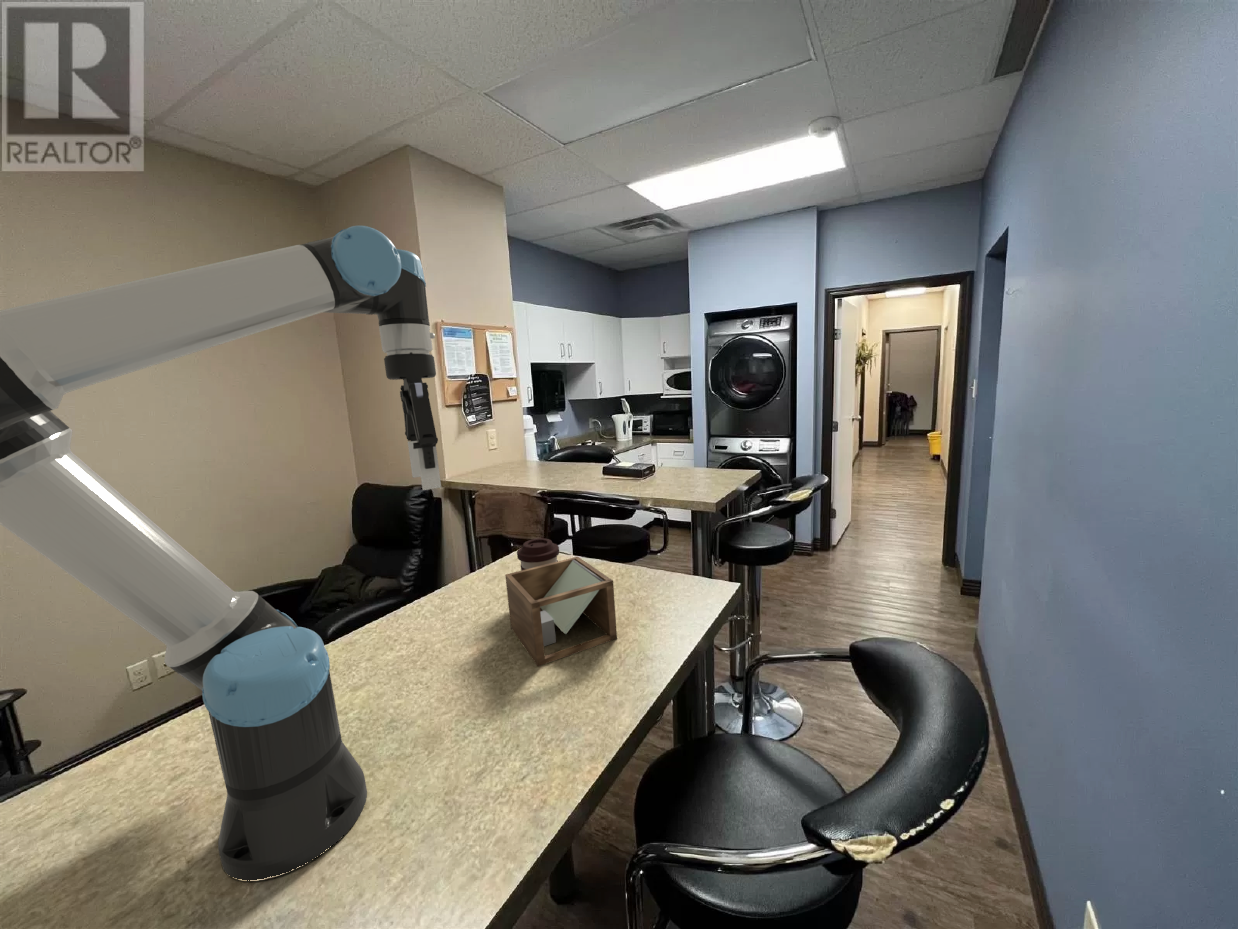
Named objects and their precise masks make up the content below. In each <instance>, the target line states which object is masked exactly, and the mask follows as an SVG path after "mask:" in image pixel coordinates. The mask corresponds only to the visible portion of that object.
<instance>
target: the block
mask: <svg viewBox="0 0 1238 929" xmlns="http://www.w3.org/2000/svg"><path fill="white" fill-rule="evenodd" d="M540 613H541V624H542V634H543V644H544V647H546V646H549V645H552V644H554V643H557V641H556V638H557V637H556V629H555V623H554V619H553V618H552V617H551V616H550V615H549V614H548V613H547V612H546V611H545V610H544V611H540Z"/></svg>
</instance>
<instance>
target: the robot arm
mask: <svg viewBox="0 0 1238 929" xmlns="http://www.w3.org/2000/svg"><path fill="white" fill-rule="evenodd" d="M424 273H425V272H424V268H423V265H422V261H421V259H420V257H419V256H418V255H417V254H416V253H414V252H412V251H409V250H407V249H406V250H405V249H398V248H396V246H395V245H394V242H392V241H391V240H390V239H389V238H388V236H387V235H385V234H384V233H383V232H381V231H380V230H377V229H376V228H373V227H370V226H367V225H352V226H349V227H347V228H344V229H341V230H340V231H339V232H337V233H336V234H335V235H334V236H332V237H328V238H323V239H318V240H314V241H308V242H306V243H302V244H295V245H291V246H287V247H282V248H278V249H273V250H269V251H264V252H259V253H255V254H250V255H245V256H241V257H237V258H232V259H228V260H227V259H226V260H224V261H218V262H214V263H209V264H205V265H200V266H196V267H191V268H187V269H183V270H178V271H173V272H169V273H168V272H167V273H164V274H159V275H155V276H151V277H146V278H140V279H136V280H133V281H128V282H123V283H119V284H114V285H110V286H105V287H100V288H95V289H91V290H87V291H83V292H78V293H73V294H68V295H64V296H60V297H55V298H51V299H46V300H42V301H37V302H33V303H28V304H23V305H19V306H15V307H10V308H6V309H1V310H0V525H1V526H2V527H3V528H5V529H6V530H7V531H9V532H10V533H11V534H13V535H15V536H16V537H17V538H19V539H20V540H21V541H23V542H24V543H26V544H27V545H28V546H30V548H32V549H34V550H35V551H36V552H38V553H39V554H41V555H42V556H44V557H45V558H46V559H48V560H49V561H50V562H51V563H53V564H54V565H56V566H57V567H58V568H60V569H61V570H62V571H64V572H65V573H67V575H69V576H71V577H72V578H73V579H75V581H78V582H79V583H80V584H82V585H83V586H84V587H86V588H88V589H89V590H90V591H91V592H93V593H94V594H96V596H98V597H100V598H101V599H102V600H104V601H105V602H107V603H108V604H110V605H111V606H112V607H113V608H115V609H116V610H118V611H119V612H120V613H122V614H123V615H124V616H125V617H127V618H128V619H130V620H131V621H133V622H134V623H135V624H137V625H138V626H140V627H141V628H142V629H144V630H145V631H146V632H147V633H149V634H150V635H152V636H153V637H155V638H156V639H157V640H159V641H160V642H161V643H163V644H164V645H165V647H166V649H165V653H164V655H165V656H164V664H165V665H166V667H168V668H170V669H171V670H172V671H174V672H175V673H177V674H178V675H180V676H181V677H182V678H183V679H185V680H187V681H188V682H189V683H191V684H192V685H194V686H196V688H198V689H199V690H200V691H202V692H201V695H202V701H203V705H204V707H205V709H206V710H207V711H208V712H207V713H208V716H209V720H210V724H211V725H210V726H211V729H212V733H213V737H214V738H213V739H214V741H215V746H216V751H217V755H218V760H219V762H220V763H219V764H220V767H221V769H220V770H221V774H222V776H223V777H222V778H223V780H224V785H225V788H226V793H227V794H226V799H225V800H226V801H225V804H224V810H223V815H222V821H221V825H220V830H219V836H218V848H217V849H218V854H219V858H220V863H221V866H223V867H222V869H223V871H224V870H225V871H224V873H225V872H226V873H227V874H228V875H230V876H231V877H234V878H237V879H242V880H247V881H248V880H249V881H250V880H257V879H264V878H267V877H270V876H271V877H272V876H276V875H280V874H282V873H286V872H289V871H291V870H292V869H296V868H297V867H299V866H302V865H304V866H306V865H305V863H307V862H310V861H311V860H312V859H314V858H315V857H317V856H319V855H320V854H321V853H323V852H325V850H326V849H328V848H330V846H332V845H333V844H335V843H336V842H337V841H338V842H339V841H340V840H341V839H342V838H343V837H344V836H346V834H347V833H348V832H349V831H350V830H351V829H352V827H353V826H354V825H355V824H356V822H357V821H358V819H359V818H360V816H361V814H362V813H363V809H364V808H365V806H364V805H366V803H367V797H368V788H367V784H366V778H365V773H364V771H363V769H362V767H361V765H360V764H359V763H358V761H357V760H356V758H355V757H354V756H353V754H352V753H351V752H350V750H349V749H348V748H347V747H346V745H345V743H344V742H343V739H342V735H341V729H340V723H339V722H340V721H339V717H338V712H337V707H336V701H335V694H334V690H333V684H332V677H331V672H330V667H331V665H330V657H329V653H328V651H327V649H326V646H325V644H324V641H323V639H322V637H321V636H320V635H319V634H318V633H317V632H315V631H314V630H312V629H309V628H308V627H307V628H306V627H302V626H298V625H297V623H296V622H295V621H294V620H293V618H291V617H290V616H289V615H287V614H286V613H284V612H281V611H280V610H279V609H276V608H275V607H273V606H272V605H271V604H270V603H269V602H268V601H266V600H265V599H264V598H263V597H262V596H261V595H259V594H258V593H257V592H256V591H254V590H245V591H244V590H243V591H234V590H233V589H232V588H231V587H230V586H228V585H227V583H225V582H224V581H223V580H222V579H220V578H219V577H218V576H217V575H216V574H214V573H213V572H212V571H211V569H209V568H207V566H205V565H204V564H203V563H202V562H201V561H199V560H198V559H197V558H196V557H195V556H194V555H193V554H191V553H190V552H189V551H188V550H186V549H185V548H184V547H183V546H182V545H181V544H180V543H179V542H177V541H176V540H175V539H174V538H173V537H171V536H170V535H169V534H168V533H167V532H165V530H163V528H161V527H160V526H158V525H157V523H155V522H154V521H153V520H152V519H151V518H150V517H148V516H147V515H146V514H145V513H143V512H142V511H141V510H140V509H139V508H138V507H137V506H135V505H134V504H133V503H132V502H131V501H130V500H129V499H127V498H126V497H125V496H123V495H122V494H121V492H119V491H118V490H117V489H116V488H115V487H113V486H112V485H111V484H110V483H109V482H108V481H106V479H104V478H103V477H102V476H100V475H99V474H98V473H97V472H96V471H94V470H93V469H92V468H91V467H90V465H88V464H86V462H84V461H83V460H82V459H81V458H80V457H79V456H77V455H76V454H75V453H73V451H72V449H71V443H72V438H73V429H72V428H70V427H69V426H68V425H67V424H66V423H65V422H63V421H62V420H61V419H60V418H59V416H57V415H56V414H55V413H53V411H54V410H56V409H59V406H60V404H61V403H62V402H61V401H62V400H63V397H64V396H65V395H66V394H67V393H71V392H73V391H77V390H79V389H80V390H81V389H83V388H86V387H89V386H93V385H96V384H99V383H102V382H106V381H109V380H112V379H115V378H118V377H121V376H124V375H128V374H130V373H134V372H137V371H141V370H143V369H147V368H149V367H153V366H156V365H160V364H162V363H165V362H169V361H172V360H176V359H178V358H179V359H180V358H181V357H182V358H183V357H185V356H188V355H191V354H196V353H198V352H201V351H205V350H206V349H211V348H214V347H216V346H220V345H222V344H226V343H230V342H232V341H233V342H234V341H236V340H239V339H242V338H245V337H249V336H252V335H255V334H258V333H261V332H265V331H267V330H271V329H273V328H276V327H280V326H283V325H287V324H290V323H294V322H297V321H299V320H302V319H303V320H304V319H306V318H308V317H309V318H310V317H312V316H315V315H319V314H322V313H328V314H329V313H330V314H332V313H333V314H360V315H368V316H372V315H376V316H377V320H378V330H379V337H380V343H381V351H382V352H383V353H384V354H386V355H385V356H384V357H383V362H384V368H385V376H386V378H387V379H388V380H392V381H393V380H395V381H397V380H402V381H403V385H402V384H401V386H400V390H399V395H400V400H401V406H402V411H403V418H404V419H403V420H404V430H405V432H404V435H405V438H406V439H407V447H408V455H409V461H410V468H411V477H412V478H413V479H414V478H420V481H421V488H422V491H426V490H427V491H428V490H433V489H440V488H442V482H441V475H440V474H441V473H440V467H439V466H440V465H439V460H438V458H439V457H438V452H437V444H438V442H439V439H438V436H437V432H436V431H437V430H436V425H435V421H434V417H433V412H432V406H431V403H430V398H429V396H430V393H429V390H428V389H429V385H428V384H427V382H423V379H432V378H435V377H436V376H437V370H436V363H435V361H436V360H435V357H434V355H433V354H430V352H432V351H433V342H432V340H433V339H435V338H436V336H435V335H436V334H435V333H434V332H430V331H431V327H430V326H431V324H430V318H429V309H428V300H427V289H426V287H427V283H426V280H425V279H426V278H425V274H424ZM356 820H357V821H356ZM350 828H351V829H350ZM349 829H350V830H349ZM343 835H344V836H343ZM341 837H342V838H341ZM340 838H341V839H340ZM339 839H340V840H339ZM338 842H337V843H338ZM337 843H336V844H337ZM336 844H335V845H336ZM332 847H333V846H332ZM330 849H331V848H330ZM325 853H326V852H325ZM323 854H324V853H323ZM319 857H320V856H319ZM311 862H312V861H311ZM311 862H310V863H311ZM226 873H225V874H226ZM227 874H226V875H227ZM228 875H227V876H228ZM230 876H229V877H230ZM231 877H230V878H231Z"/></svg>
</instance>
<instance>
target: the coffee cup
mask: <svg viewBox="0 0 1238 929" xmlns="http://www.w3.org/2000/svg"><path fill="white" fill-rule="evenodd" d="M559 555H560V547H559V545H558V544H557V543H554V542H553V541H552V540H551V539H549V538H544V537H543V538H542V537H541V538H533V539H530V540H527V541H525V542H523V544H522V546H521V547H519V548H518V549H517V551H516V556H517V559H518V560H519V561H520V571H522V570H526V569H530V568H534V567H538V566H542V565H546V564H550V563H554V562H558V561H559V560H558V556H559Z"/></svg>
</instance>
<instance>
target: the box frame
mask: <svg viewBox="0 0 1238 929" xmlns="http://www.w3.org/2000/svg"><path fill="white" fill-rule="evenodd" d="M572 560H575V561H577V562H578V563H580V564H581V565H582V566H584V567H585V568H587V569H588V570H589V571H591V572H592V573H594V574H595V575H597V576H598V577H599V578H601V579H602V580H604V581H602V582H599V583H595V584H592V585H588V586H585V587H581V588H578V589H574V590H570V591H567V592H563V593H560V594H556V595H553V596H549V597H546V598H544V596H545V595H546V594H547V593H548V591H549V590H550V589H551V588H552V586H553V585H554V584H555V582H556V581H557V580H558V579H559V577H560V576H561V575H562V574H563V572H564V571H565V570H566V568H567V567H568V566H569V565H570V563H571V562H572ZM504 576H505V584H506V586H505V587H506V594H507V603H508V613H509V621H510V622H509V623H510V629H511V631H512V633H513V634H514V635H515V636H516V637H517V639H518V641H519V642H520V643H521V645H522V647H523V648H524V649H525V650H526V652H527V653H528V654H529V656H530V658H531V659H532V660H533V662H534V663H535V665H536V666H537V667H540V666H543V665H547V664H549V663H551V662H555V661H557V660H560V659H563V658H566V657H568V656H571V655H574V654H576V653H577V654H578V653H580V652H582V651H586V650H589V649H591V648H594V647H596V646H599V645H603V644H606V643H608V642H610V641H611V642H612V641H613V640H617V639H618V634H617V633H618V632H617V620H616V619H617V616H616V604H615V601H616V600H615V588H614V587H615V586H614V580H613V579H612V578H610V577H609V576H607V575H605V573H602V572H601V571H600V570H598V569H597V568H595V567H594V566H593V565H591V564H590V563H588V562H587V561H586V560H584V559H582V558H581V557H579V556H574V557H570V558H566V559H563V560H558V562H554V563H550V564H546V565H542V566H538V567H534V568H530V569H526V570H522V571H521V570H518V571H514V572H509V573H506V574H505V575H504ZM599 589H600V590H599ZM596 590H599V591H598V592H597V594H596V595H595V596H594V598H593V599H592V600H591V602H590V603H589V604H588V606H587V607H586V608H585V610H584V611H583V612H582V614H583V615H584V616H586V617H587V618H588V619H589V620H590V621H591V622H592V623H593V624H594V625H595V626H597V627H598V629H600V630H601V631H602V632H603V633H604V634H603V635H601V636H599V637H595V638H592V639H590V640H587V641H586V640H585V641H584V642H582V643H578V644H575V645H572V646H569V647H566V648H564V649H561V650H558V651H555V652H552V653H550V654H546V655H545V646H544V644H543V634H542V624H541V613H540V611H543V610H542V609H541V608H540V607H541V606H545V605H548V604H551V603H555V602H558V601H562V600H565V599H569V598H572V597H575V596H579V595H582V594H586V593H589V592H593V591H596Z"/></svg>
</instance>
